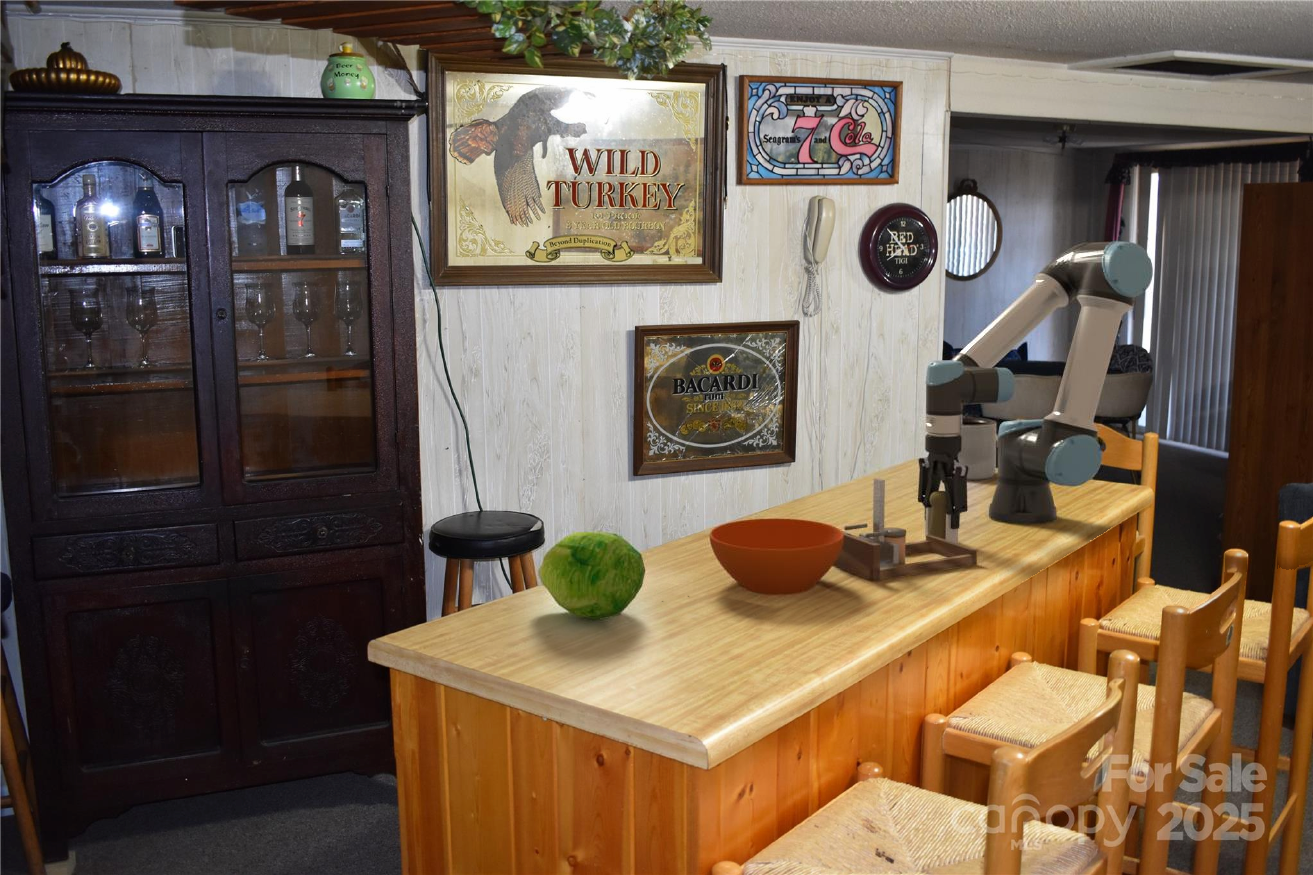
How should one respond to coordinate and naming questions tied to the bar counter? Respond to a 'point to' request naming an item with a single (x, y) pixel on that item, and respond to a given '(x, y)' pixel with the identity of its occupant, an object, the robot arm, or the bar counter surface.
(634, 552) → the lettuce
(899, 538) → the terracotta spice jar
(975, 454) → the planter
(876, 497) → the pusher
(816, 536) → the bowl
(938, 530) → the pepper mill
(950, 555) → the lane
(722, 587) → the bar counter surface
